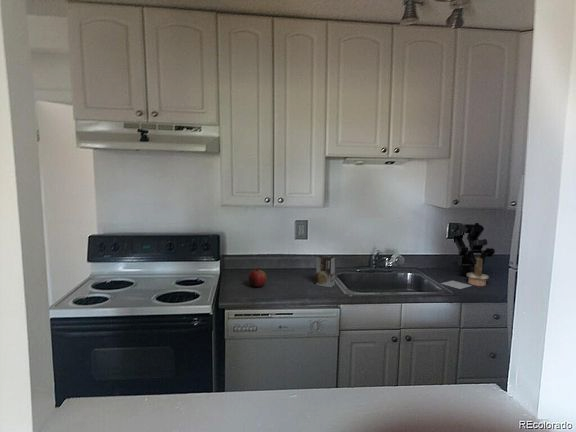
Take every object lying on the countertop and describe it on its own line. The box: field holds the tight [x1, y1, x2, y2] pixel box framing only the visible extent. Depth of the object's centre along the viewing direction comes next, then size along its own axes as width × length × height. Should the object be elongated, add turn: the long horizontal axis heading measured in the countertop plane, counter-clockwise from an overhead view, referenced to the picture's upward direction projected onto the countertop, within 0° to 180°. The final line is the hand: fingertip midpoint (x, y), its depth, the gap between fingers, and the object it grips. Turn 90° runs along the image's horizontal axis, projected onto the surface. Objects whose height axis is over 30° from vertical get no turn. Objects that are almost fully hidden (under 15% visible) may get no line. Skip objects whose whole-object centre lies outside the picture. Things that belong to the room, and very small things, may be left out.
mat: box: [440, 280, 472, 290], centre depth 220 cm, size 12×12×1 cm
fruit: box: [248, 267, 267, 288], centre depth 209 cm, size 11×10×10 cm
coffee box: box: [315, 254, 336, 288], centre depth 214 cm, size 9×6×16 cm
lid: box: [467, 257, 490, 280], centre depth 222 cm, size 12×12×11 cm
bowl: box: [467, 277, 487, 287], centre depth 223 cm, size 9×9×4 cm
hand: (479, 264), depth 221 cm, fingers open, 4 cm apart
